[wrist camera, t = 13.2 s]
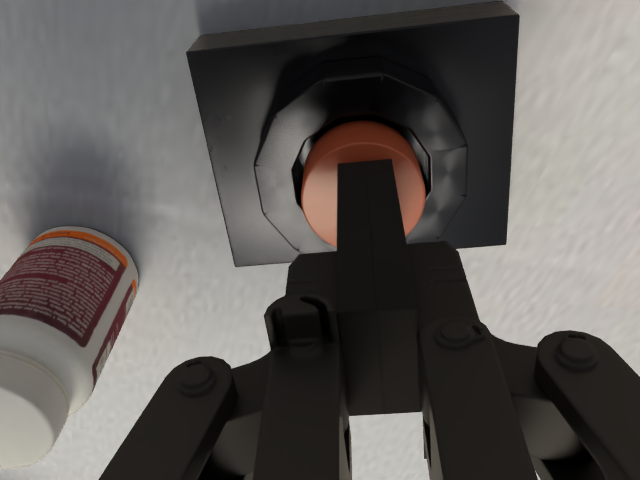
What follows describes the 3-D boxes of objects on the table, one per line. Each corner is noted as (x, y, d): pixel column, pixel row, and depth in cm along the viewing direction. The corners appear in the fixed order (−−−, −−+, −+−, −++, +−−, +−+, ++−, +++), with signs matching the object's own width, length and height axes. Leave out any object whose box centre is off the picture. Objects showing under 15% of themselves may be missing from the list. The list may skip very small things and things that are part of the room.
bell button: (310, 228, 20) (309, 257, 18) (296, 125, 18) (292, 149, 16) (420, 219, 19) (427, 247, 18) (417, 113, 18) (424, 136, 16)
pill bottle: (5, 236, 24) (-131, 387, 17) (111, 211, 24) (14, 358, 17) (61, 323, 27) (-39, 487, 20) (158, 303, 26) (91, 466, 19)
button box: (242, 237, 24) (227, 297, 21) (199, 34, 20) (171, 68, 17) (493, 215, 23) (519, 273, 20) (502, 0, 19) (538, 28, 16)
